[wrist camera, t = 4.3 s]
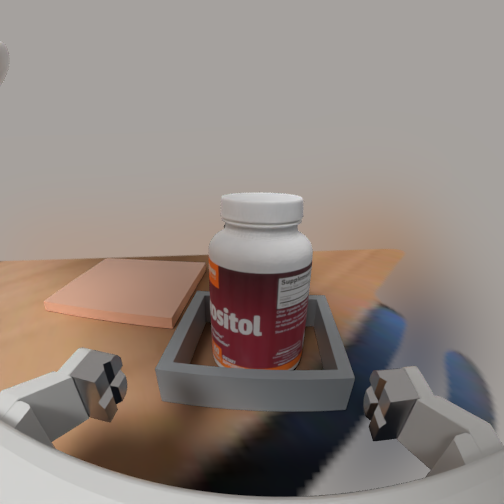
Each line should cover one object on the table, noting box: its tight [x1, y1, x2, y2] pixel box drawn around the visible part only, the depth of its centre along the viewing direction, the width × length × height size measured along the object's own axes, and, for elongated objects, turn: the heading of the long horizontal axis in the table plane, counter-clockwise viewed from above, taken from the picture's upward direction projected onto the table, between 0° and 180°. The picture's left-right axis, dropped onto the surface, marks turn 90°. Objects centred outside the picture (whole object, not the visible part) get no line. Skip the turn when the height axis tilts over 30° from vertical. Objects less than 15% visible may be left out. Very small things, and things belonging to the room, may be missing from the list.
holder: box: [155, 291, 355, 411], centre depth 20 cm, size 11×11×2 cm
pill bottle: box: [209, 193, 313, 370], centre depth 19 cm, size 6×6×11 cm
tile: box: [44, 258, 206, 329], centre depth 30 cm, size 14×14×1 cm
